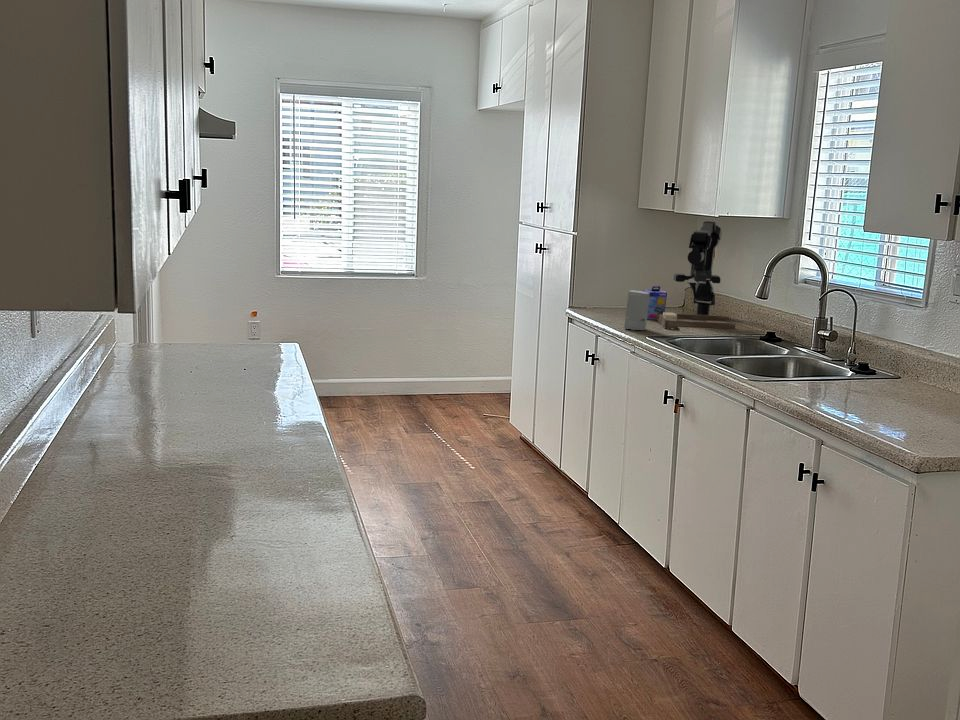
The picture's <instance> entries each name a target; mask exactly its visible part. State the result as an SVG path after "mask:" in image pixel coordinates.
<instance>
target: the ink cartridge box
mask: <svg viewBox="0 0 960 720" xmlns="http://www.w3.org/2000/svg"><path fill="white" fill-rule="evenodd" d="M642 291H643V292H650V296H649V304H648V312H647V320H657V317H658V313H663V312H665V313H666V307H667V306H666V305H667V298H668V292H667V291H665V290H661V285H658V286H657V285H655V286H654V285H653V286H652V288H651V289H643V290H642Z"/></svg>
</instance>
